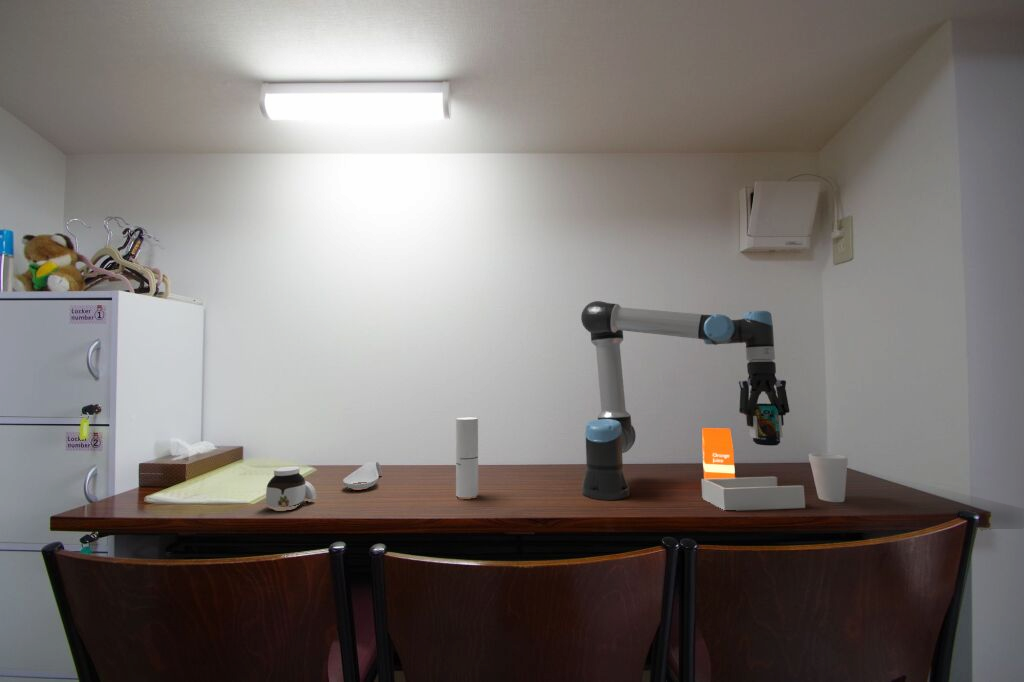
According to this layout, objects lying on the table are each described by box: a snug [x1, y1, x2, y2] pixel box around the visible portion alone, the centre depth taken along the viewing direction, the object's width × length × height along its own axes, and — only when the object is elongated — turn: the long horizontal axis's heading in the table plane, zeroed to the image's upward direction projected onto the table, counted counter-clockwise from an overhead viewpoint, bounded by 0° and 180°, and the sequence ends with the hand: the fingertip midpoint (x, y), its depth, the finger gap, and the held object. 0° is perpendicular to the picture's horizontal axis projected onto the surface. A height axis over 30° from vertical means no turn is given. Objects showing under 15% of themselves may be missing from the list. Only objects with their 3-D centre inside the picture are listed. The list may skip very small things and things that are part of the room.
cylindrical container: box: [455, 417, 479, 497], centre depth 136 cm, size 7×7×25 cm
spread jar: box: [265, 465, 317, 507], centre depth 128 cm, size 12×11×12 cm
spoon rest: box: [342, 461, 383, 489], centre depth 153 cm, size 24×12×7 cm, turn 2°
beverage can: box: [752, 403, 781, 447], centre depth 127 cm, size 7×7×12 cm
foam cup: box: [808, 452, 849, 503], centre depth 128 cm, size 10×9×13 cm
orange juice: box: [701, 427, 736, 479], centre depth 142 cm, size 8×9×20 cm
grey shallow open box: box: [700, 476, 806, 511], centre depth 125 cm, size 24×12×6 cm, turn 94°
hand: (766, 437), depth 127 cm, fingers closed on beverage can, 7 cm apart
